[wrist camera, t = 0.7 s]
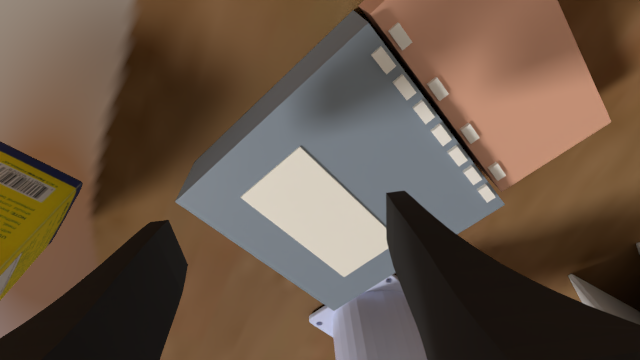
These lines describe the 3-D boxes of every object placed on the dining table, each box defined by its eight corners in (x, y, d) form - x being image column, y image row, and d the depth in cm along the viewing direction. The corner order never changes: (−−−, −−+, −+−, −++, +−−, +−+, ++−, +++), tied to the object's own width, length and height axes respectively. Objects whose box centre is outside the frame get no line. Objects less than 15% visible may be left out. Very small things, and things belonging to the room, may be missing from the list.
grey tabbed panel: (472, 166, 22) (506, 206, 18) (328, 264, 26) (334, 313, 22) (353, 10, 17) (369, 23, 13) (194, 161, 20) (174, 204, 17)
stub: (570, 101, 20) (614, 123, 17) (477, 164, 22) (503, 193, 19) (469, -101, 15) (509, -115, 12) (358, 5, 16) (371, 14, 14)
